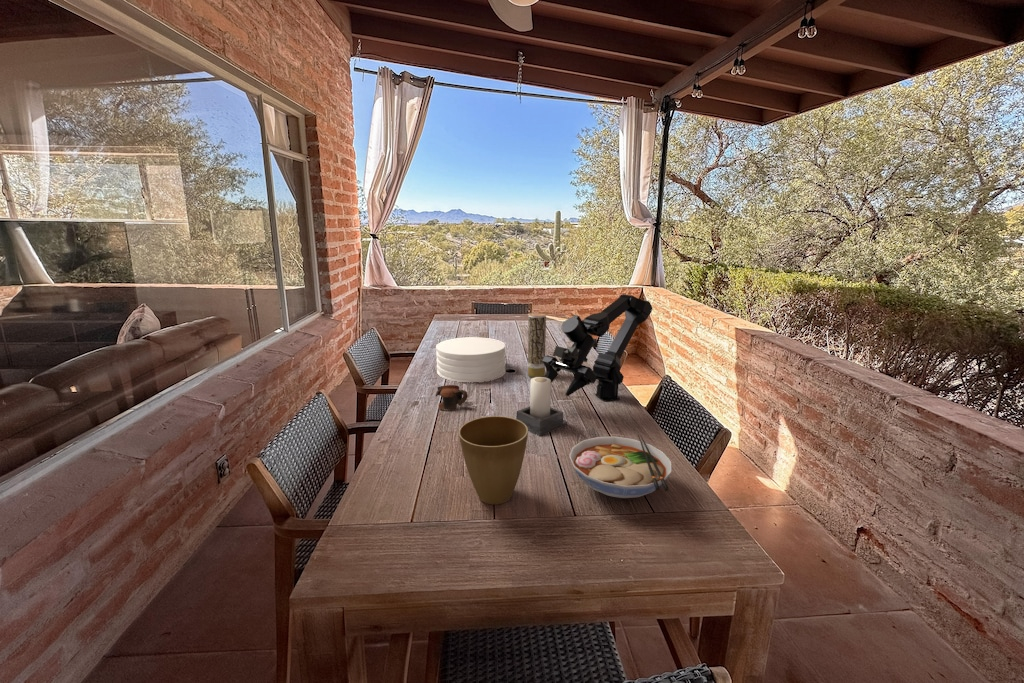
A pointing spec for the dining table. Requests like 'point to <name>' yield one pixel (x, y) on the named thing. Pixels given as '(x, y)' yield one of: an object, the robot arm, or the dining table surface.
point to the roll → (540, 397)
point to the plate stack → (470, 359)
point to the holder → (541, 421)
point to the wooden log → (536, 344)
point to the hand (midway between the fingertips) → (555, 391)
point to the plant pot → (494, 455)
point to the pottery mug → (451, 396)
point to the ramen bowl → (621, 466)
